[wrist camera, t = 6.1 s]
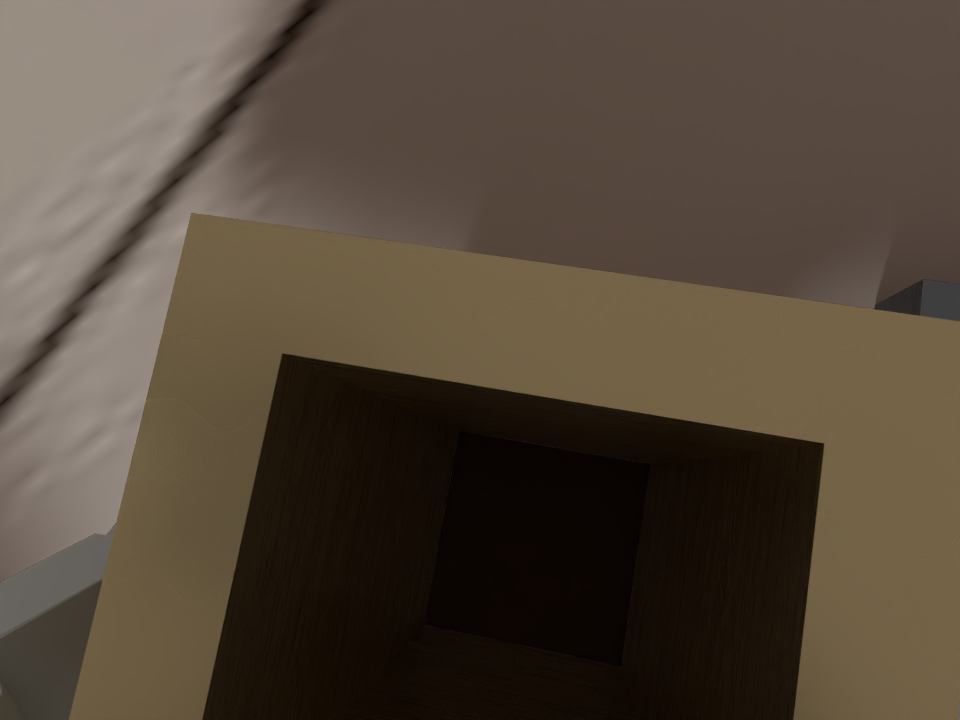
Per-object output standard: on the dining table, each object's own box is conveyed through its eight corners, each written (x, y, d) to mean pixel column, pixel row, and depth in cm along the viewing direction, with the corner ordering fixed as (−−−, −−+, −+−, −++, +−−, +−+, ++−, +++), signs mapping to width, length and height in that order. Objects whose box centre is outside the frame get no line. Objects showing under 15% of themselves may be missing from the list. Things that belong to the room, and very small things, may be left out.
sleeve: (367, 664, 15) (-8, 1033, 5) (422, 377, 16) (190, 212, 6) (665, 730, 14) (908, 1321, 4) (706, 424, 15) (989, 325, 5)
